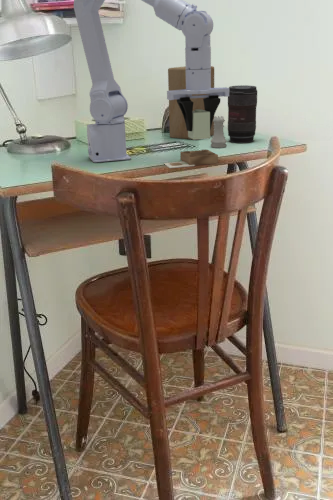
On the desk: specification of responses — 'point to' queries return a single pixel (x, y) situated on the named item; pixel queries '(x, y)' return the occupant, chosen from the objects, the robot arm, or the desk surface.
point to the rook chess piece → (218, 133)
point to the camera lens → (242, 113)
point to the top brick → (200, 125)
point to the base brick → (199, 157)
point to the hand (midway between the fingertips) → (198, 130)
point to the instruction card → (177, 164)
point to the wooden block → (175, 114)
